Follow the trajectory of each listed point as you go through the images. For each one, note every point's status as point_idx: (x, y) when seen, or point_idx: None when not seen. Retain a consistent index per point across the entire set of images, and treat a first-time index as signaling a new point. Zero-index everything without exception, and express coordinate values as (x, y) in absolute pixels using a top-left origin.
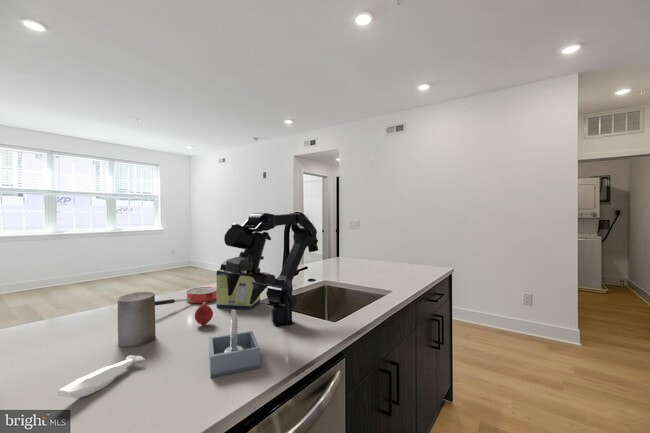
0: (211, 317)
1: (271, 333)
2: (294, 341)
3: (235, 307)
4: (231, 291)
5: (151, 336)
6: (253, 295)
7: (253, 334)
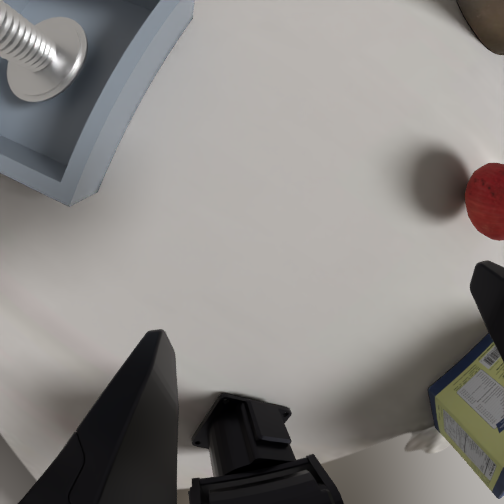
0: (472, 218)
1: (175, 345)
2: (45, 353)
3: (472, 353)
4: (496, 306)
5: (472, 11)
6: (92, 417)
7: (24, 181)
